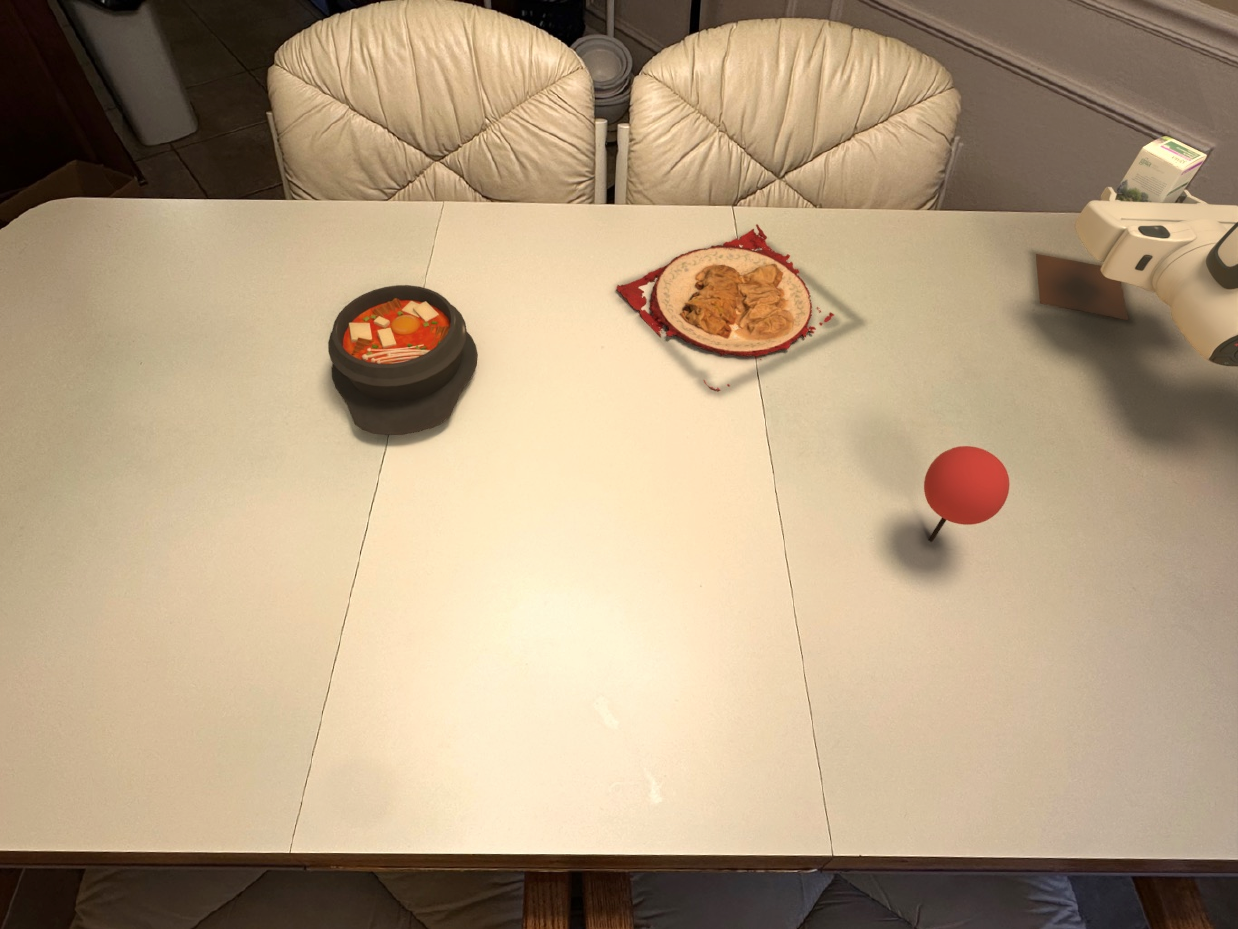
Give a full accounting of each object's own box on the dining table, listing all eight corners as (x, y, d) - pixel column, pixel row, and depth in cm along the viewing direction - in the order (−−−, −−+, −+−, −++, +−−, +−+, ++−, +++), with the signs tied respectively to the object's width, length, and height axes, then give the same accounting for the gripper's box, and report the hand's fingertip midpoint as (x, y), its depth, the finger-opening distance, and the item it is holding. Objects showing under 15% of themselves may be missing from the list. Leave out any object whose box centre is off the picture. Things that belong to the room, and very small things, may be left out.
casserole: (483, 437, 91) (473, 390, 85) (327, 452, 89) (305, 406, 83) (476, 303, 106) (468, 254, 99) (343, 314, 104) (325, 265, 98)
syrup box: (1142, 251, 103) (1211, 153, 91) (1117, 266, 101) (1185, 167, 89) (1105, 230, 106) (1168, 132, 94) (1080, 244, 103) (1141, 145, 92)
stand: (1115, 274, 113) (1118, 268, 113) (1124, 325, 106) (1128, 319, 105) (1033, 258, 115) (1036, 253, 114) (1036, 308, 108) (1040, 302, 107)
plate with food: (614, 296, 108) (614, 277, 105) (752, 236, 116) (755, 217, 114) (713, 400, 96) (716, 382, 94) (858, 326, 105) (865, 307, 102)
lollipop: (967, 530, 84) (1027, 448, 73) (954, 584, 80) (1016, 506, 68) (900, 505, 86) (948, 421, 74) (884, 556, 82) (933, 476, 70)
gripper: (1294, 239, 86) (1237, 173, 95) (1119, 233, 86) (1077, 167, 95) (1256, 282, 91) (1205, 216, 100) (1090, 276, 91) (1053, 211, 100)
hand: (1141, 192), depth 97 cm, fingers closed on syrup box, 7 cm apart
